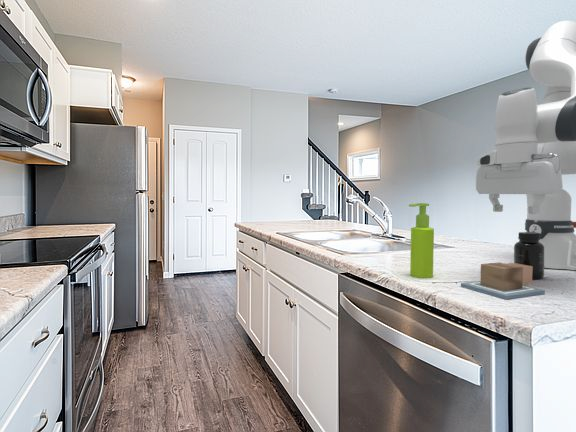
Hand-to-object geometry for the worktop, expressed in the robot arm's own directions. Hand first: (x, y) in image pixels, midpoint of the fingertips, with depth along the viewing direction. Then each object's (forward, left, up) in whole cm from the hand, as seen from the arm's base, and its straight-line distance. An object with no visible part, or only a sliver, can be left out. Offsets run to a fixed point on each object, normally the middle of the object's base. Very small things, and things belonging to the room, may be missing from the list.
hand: (515, 212), depth 90 cm
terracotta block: (-2, 0, -18) cm, 18 cm away
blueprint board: (+9, +4, -18) cm, 20 cm away
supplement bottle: (-10, -3, -18) cm, 21 cm away
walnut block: (+9, +4, -17) cm, 19 cm away
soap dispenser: (+16, -15, -18) cm, 28 cm away
